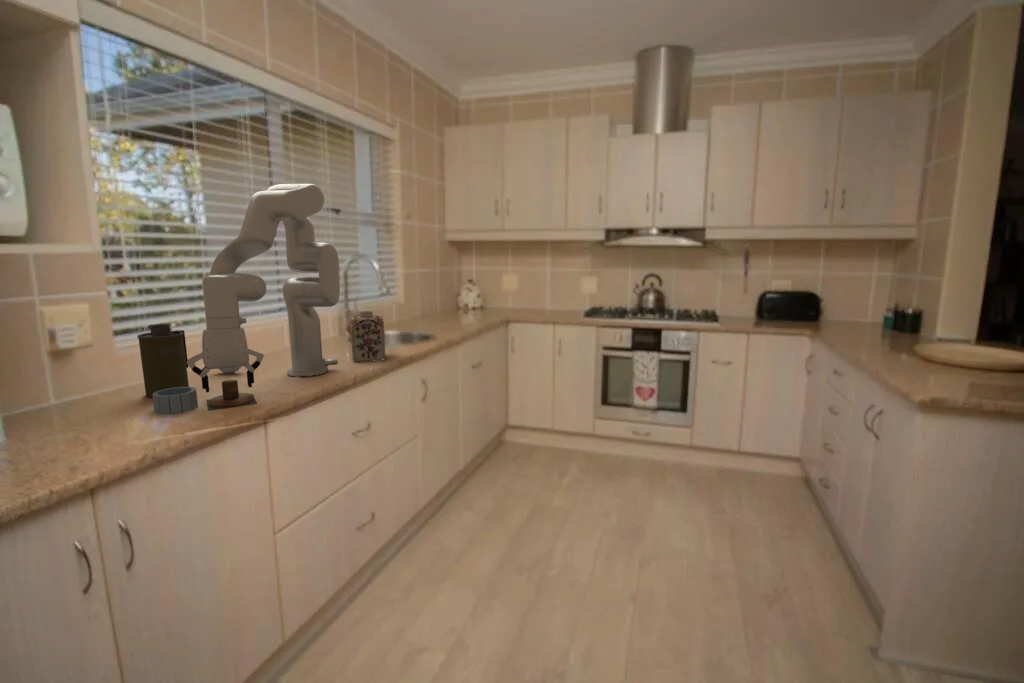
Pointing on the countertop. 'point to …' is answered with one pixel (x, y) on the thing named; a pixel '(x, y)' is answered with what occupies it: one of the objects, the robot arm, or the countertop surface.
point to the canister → (163, 358)
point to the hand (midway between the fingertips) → (229, 388)
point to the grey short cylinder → (175, 400)
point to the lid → (230, 396)
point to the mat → (229, 407)
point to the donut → (230, 369)
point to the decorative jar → (367, 337)
